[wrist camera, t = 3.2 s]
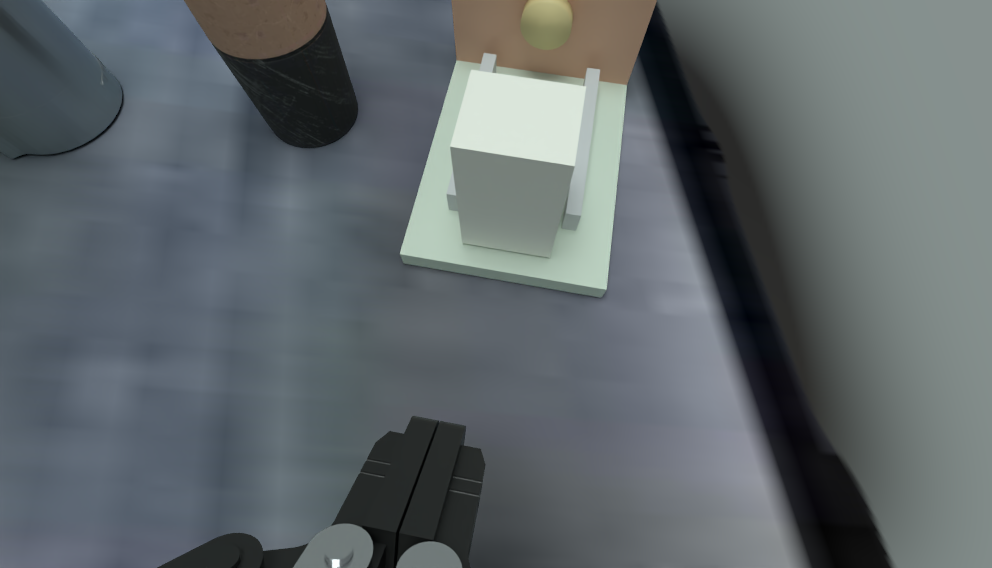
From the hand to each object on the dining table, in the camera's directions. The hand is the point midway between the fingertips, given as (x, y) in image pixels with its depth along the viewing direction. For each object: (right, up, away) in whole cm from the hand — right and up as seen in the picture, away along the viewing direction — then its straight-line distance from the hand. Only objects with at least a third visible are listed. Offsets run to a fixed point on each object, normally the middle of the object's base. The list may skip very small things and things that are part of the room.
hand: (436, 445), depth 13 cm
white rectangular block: (+3, +9, +19) cm, 21 cm away
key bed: (+4, +15, +23) cm, 28 cm away
